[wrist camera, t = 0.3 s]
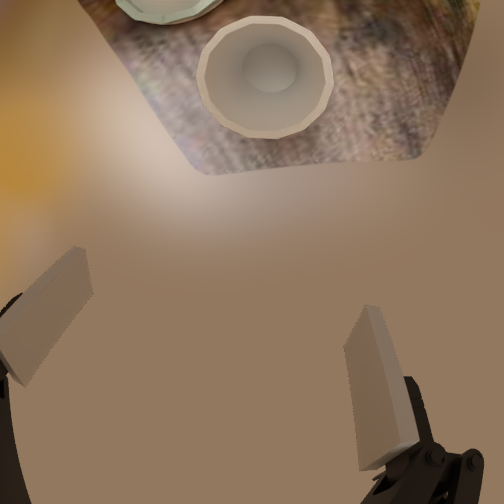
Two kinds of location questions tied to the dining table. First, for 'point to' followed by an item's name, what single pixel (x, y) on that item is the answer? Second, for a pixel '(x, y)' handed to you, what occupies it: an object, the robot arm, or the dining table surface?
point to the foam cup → (265, 77)
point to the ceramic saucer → (167, 10)
